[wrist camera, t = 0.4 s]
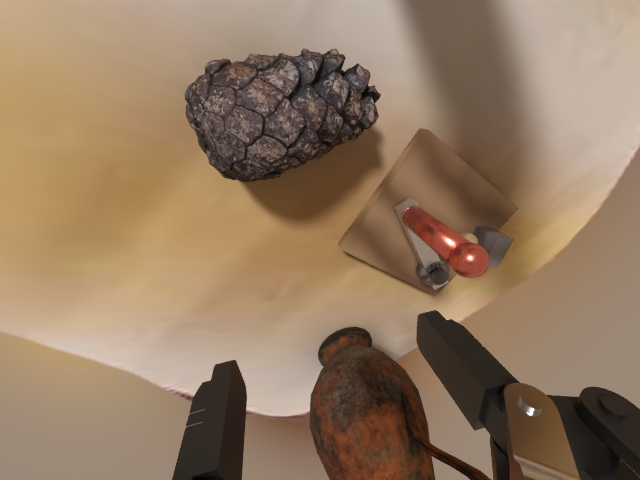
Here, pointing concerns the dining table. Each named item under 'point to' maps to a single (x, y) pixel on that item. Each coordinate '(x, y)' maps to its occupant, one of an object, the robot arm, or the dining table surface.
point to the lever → (439, 245)
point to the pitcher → (371, 416)
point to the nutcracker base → (429, 210)
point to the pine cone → (277, 111)
